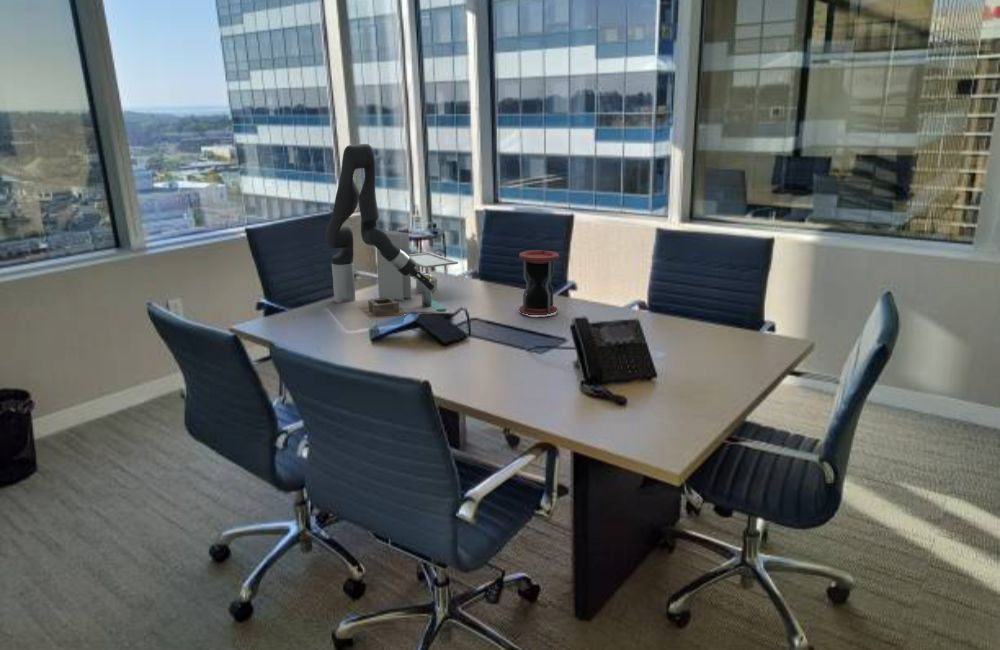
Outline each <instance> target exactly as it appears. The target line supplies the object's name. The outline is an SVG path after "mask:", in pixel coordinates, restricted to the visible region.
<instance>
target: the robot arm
mask: <svg viewBox="0 0 1000 650" xmlns="http://www.w3.org/2000/svg"><path fill="white" fill-rule="evenodd" d="M343 150H344V151H343V154H342V159H341V160H342V161H341V167H340V169H341V170H340V177H339V182H338V187H337V190H336V193H335V194H336V195H335V198H334V204H333V209H332V213H331V217H330V220H329V223H328V224H327V228H326V232H325V243H326V245H327V247H328V248H330V249H340V248H341V249H340V251H338V252H337V253H336V254H334V255H332V257H331V261H330V262H331V272H332V284H333V286H332V287H333V288H332V289H333V299H334V300H333V301H334V302H335V303H337V304H343V303H344V304H345V303H352V302H356V289H355V288H356V287H355V286H356V285H355V283H356V282H355V270H354V233H353V229H352V228H351V227H350V225H344V223H345V222H346V221H347V220H348V219H349V218H351V216H352V215H353V214H354V213H355V212H356V210H357V207H359V213H360V218H361V220H360V234H361V239H362V241H363V242H364V244H366V245H369V246H374V247H375V249H376V248H377V249H379V250H380V254H381V255H382V256H383V257H384V258H385V259H386V260H387V261H389V262H390V263H391V265H392V266H393V267H395V268H396V269H397V270H398V271H399V272H400V273H401V274H403V275H404V276H407V275H409V274H410V278H413V279H414V280H415V281H416V280H417V281H418V282H420V283H421V284H422V283H423V285H425V286H427V287H428V288H429V289H430V290H432V289H433V288H434V286H433V285H432V284H431V283H430V282H429V280H428V279H427V278H425V276H424V275H423V274H422V272H421V270H419V269H418V268H416V266H417V265H416V262H415V261H414V260H413V259H412V258H411V257H409V256H408V255H407V254H406V253H405V252H404V251H402V250H401V249H400V248H399V247H397V246H396V245H395V244H394V243H393V242H392V241H391V240H390V238H389V237H388V236H387V234H386V233H385V232H384V231H385V230H382V229H381V228H379V227H377V221H378V220H379V210H378V209H379V208H378V203H377V197H376V194H377V193H376V161H375V158H376V157H375V153H374V150H373V147H372V146H371V145H370V144H368V143H361V144H359V143H358V144H349V145H346V146H345V147H344V149H343ZM358 169H359V170H360V169H364V181H363V184H362V188H361V190H359V187H358V186H357V184H356V182H355V180H354V173H355V171H356V170H358ZM377 249H376V250H377ZM423 279H425V282H423Z"/></svg>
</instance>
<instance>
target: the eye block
mask: <svg viewBox="0 0 1000 650" xmlns="http://www.w3.org/2000/svg"><path fill="white" fill-rule="evenodd" d="M367 301H368V306H367V305H364V306H359V308H358V309H360V310H361V311H362V313H364V314H365V315H366V316H367V317H368V318H369V319H370V320H378V319H379V320H380V319H386V318H394V317H402V315H403V316H405V315H404V314H407V313H408V312H407V311H406V310H404V308H402V307H401V306H400V305H399V302H398V301H397V300H396V299H393V298H392V297H391V298H381V299H379V298H375V299H368V300H367Z"/></svg>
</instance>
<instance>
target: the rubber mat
mask: <svg viewBox="0 0 1000 650" xmlns="http://www.w3.org/2000/svg"><path fill="white" fill-rule="evenodd" d="M431 305H432V306H430V307H431V308H432V309H434V310H435V311H436V312H438V311H440V312H445V310H446V311H447V308H446V307H444V306H443V305H442V304H440V303H439V302H438V301H436V300H431Z"/></svg>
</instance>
